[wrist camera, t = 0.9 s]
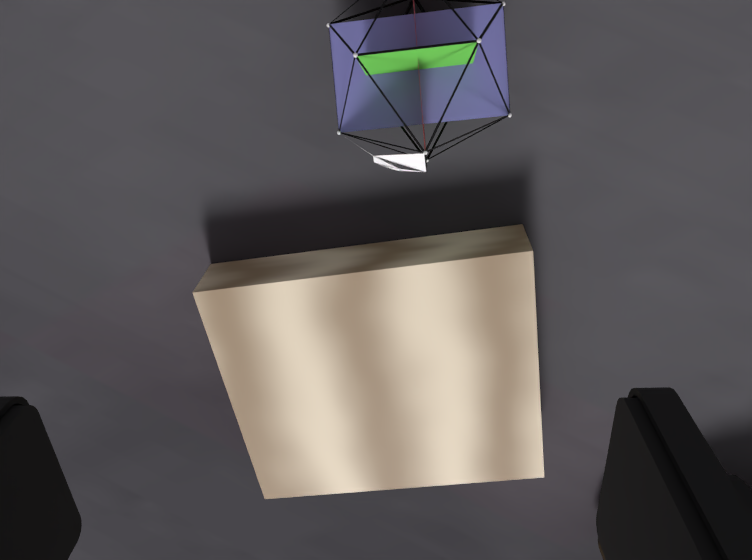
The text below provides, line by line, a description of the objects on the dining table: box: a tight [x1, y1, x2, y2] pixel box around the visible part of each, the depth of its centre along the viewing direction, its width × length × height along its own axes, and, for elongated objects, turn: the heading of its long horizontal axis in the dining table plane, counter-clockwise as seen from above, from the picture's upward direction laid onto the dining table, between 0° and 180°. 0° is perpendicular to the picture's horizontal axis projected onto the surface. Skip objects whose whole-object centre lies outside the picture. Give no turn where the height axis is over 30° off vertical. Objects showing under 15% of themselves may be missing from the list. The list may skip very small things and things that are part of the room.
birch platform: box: [193, 224, 544, 499], centre depth 33 cm, size 16×14×3 cm
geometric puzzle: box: [327, 0, 512, 172], centre depth 24 cm, size 7×7×8 cm
